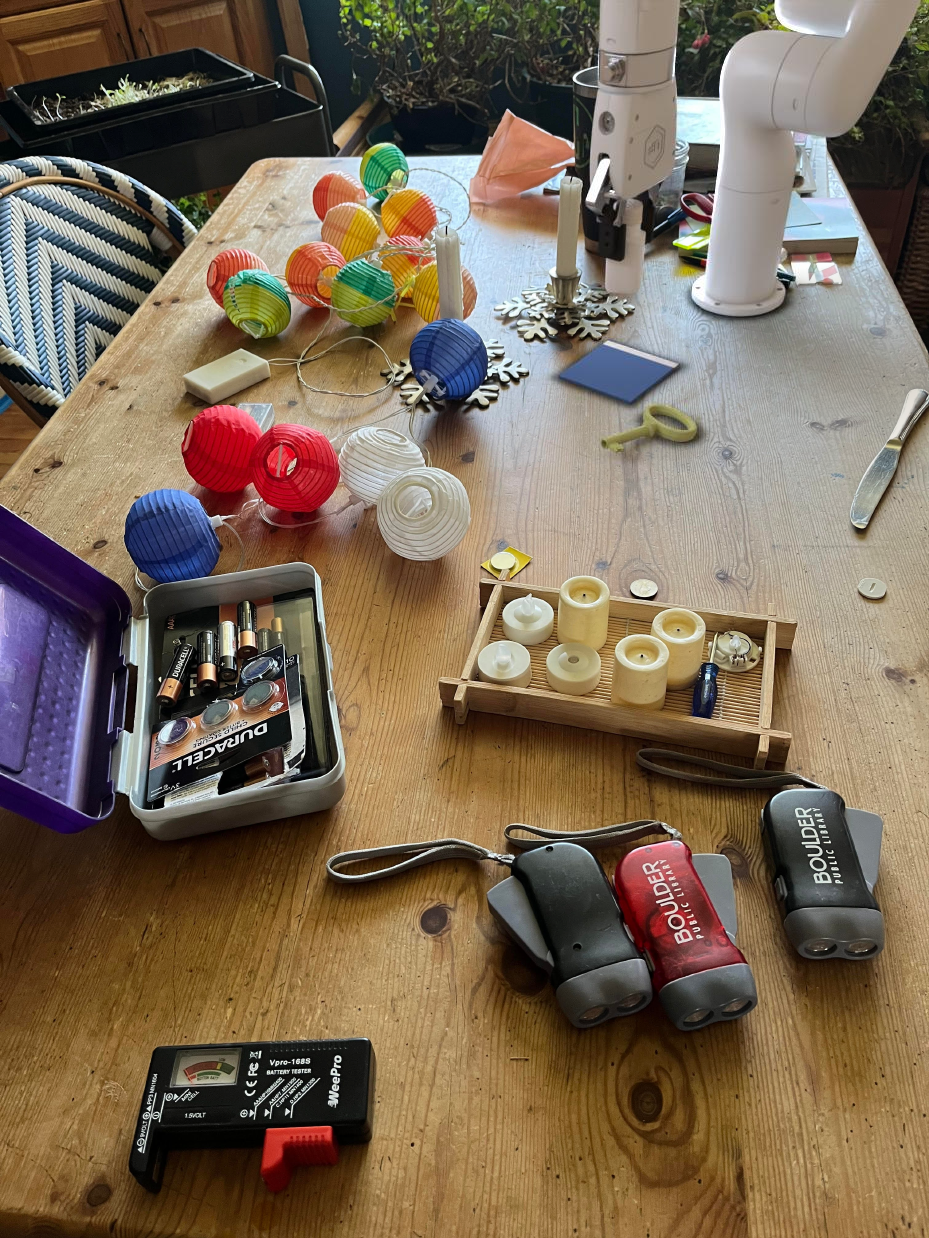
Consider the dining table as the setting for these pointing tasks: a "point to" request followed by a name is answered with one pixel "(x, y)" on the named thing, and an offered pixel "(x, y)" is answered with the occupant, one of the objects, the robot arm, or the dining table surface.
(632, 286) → the pepper shaker
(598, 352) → the towel
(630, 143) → the robot arm
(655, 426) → the key
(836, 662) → the dining table surface
